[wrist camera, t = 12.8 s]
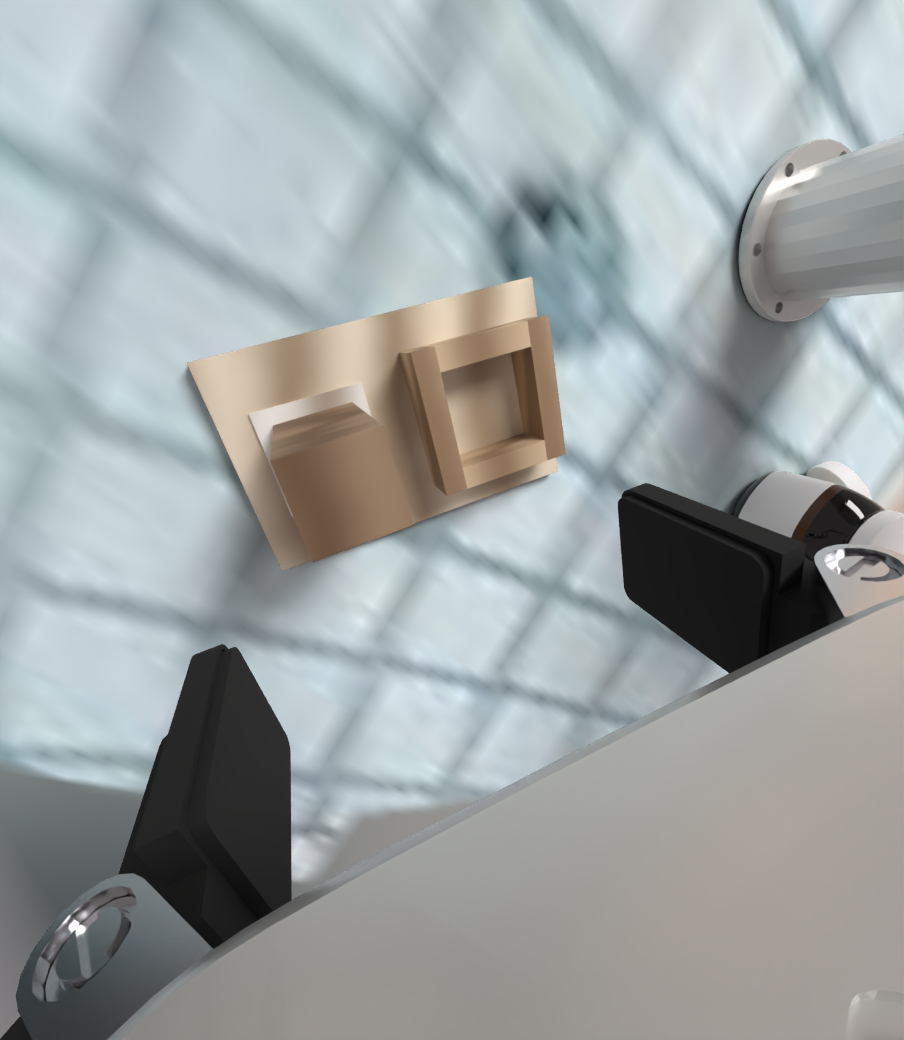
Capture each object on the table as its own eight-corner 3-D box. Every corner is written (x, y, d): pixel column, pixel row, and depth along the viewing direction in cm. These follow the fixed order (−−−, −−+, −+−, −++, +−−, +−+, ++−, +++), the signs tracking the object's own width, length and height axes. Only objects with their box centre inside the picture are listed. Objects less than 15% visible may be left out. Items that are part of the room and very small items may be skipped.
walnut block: (351, 402, 29) (383, 425, 20) (375, 474, 31) (413, 524, 22) (273, 425, 28) (269, 461, 19) (303, 498, 30) (312, 562, 21)
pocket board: (524, 278, 31) (556, 269, 27) (551, 468, 37) (580, 480, 33) (189, 362, 26) (175, 364, 23) (282, 565, 32) (282, 592, 28)
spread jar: (710, 518, 45) (837, 568, 35) (781, 422, 44) (933, 445, 34) (763, 566, 51) (886, 621, 41) (827, 482, 50) (970, 517, 39)
